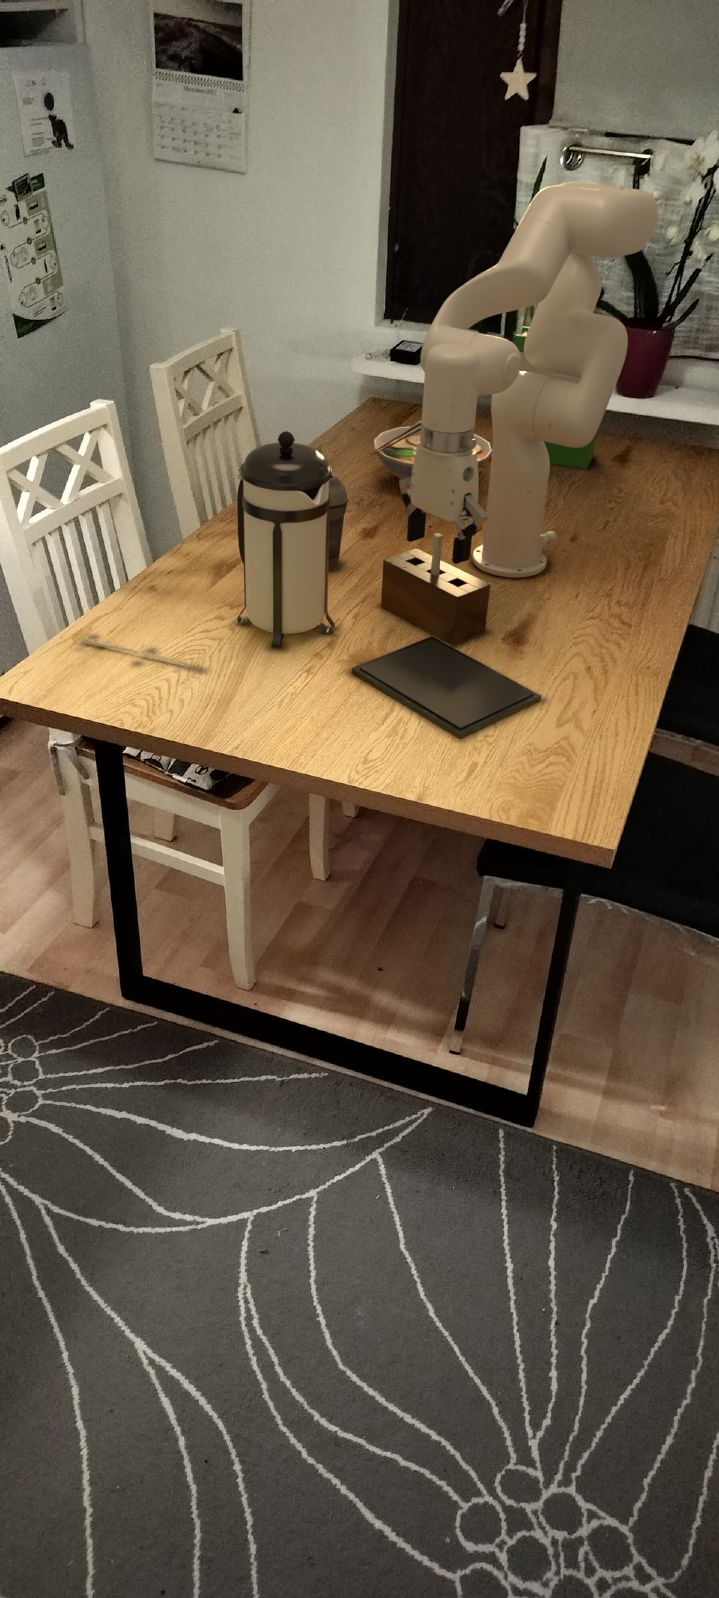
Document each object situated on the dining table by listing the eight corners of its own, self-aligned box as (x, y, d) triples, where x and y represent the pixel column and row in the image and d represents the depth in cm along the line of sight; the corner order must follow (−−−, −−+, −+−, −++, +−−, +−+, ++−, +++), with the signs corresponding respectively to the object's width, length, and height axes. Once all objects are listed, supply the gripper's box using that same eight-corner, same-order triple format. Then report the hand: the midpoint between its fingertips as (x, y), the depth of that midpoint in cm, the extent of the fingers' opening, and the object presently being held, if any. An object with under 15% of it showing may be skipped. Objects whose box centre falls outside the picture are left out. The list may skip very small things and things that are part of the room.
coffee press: (346, 609, 187) (353, 418, 169) (321, 656, 174) (325, 455, 156) (241, 594, 190) (236, 405, 172) (208, 640, 177) (199, 441, 159)
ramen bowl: (451, 515, 219) (455, 472, 214) (346, 487, 228) (347, 445, 223) (510, 476, 236) (515, 435, 231) (410, 451, 245) (413, 411, 241)
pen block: (412, 594, 192) (416, 548, 187) (485, 632, 182) (490, 584, 177) (380, 606, 188) (383, 559, 183) (453, 645, 178) (457, 597, 174)
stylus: (194, 670, 167) (77, 642, 172) (194, 676, 168) (77, 648, 173) (207, 657, 170) (92, 630, 176) (207, 663, 171) (92, 636, 176)
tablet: (351, 672, 170) (351, 666, 170) (431, 640, 179) (431, 634, 179) (460, 739, 157) (460, 732, 157) (540, 700, 166) (541, 694, 166)
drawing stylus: (430, 616, 186) (437, 532, 177) (437, 619, 185) (444, 534, 177) (425, 619, 185) (432, 534, 177) (431, 622, 184) (438, 537, 176)
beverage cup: (341, 577, 196) (344, 458, 184) (298, 571, 197) (299, 453, 185) (350, 559, 202) (354, 443, 190) (308, 554, 203) (310, 438, 191)
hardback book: (501, 455, 245) (514, 335, 231) (510, 444, 251) (523, 325, 237) (586, 468, 241) (605, 346, 227) (592, 456, 247) (611, 337, 233)
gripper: (509, 449, 165) (496, 563, 175) (423, 416, 175) (416, 525, 186) (472, 460, 161) (461, 576, 171) (386, 425, 171) (380, 537, 181)
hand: (437, 550), depth 178 cm, fingers open, 9 cm apart
